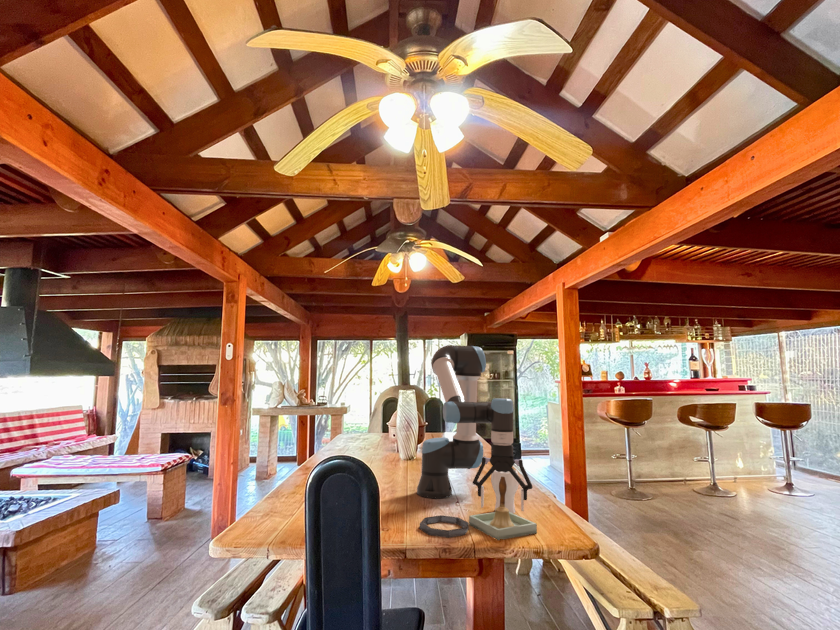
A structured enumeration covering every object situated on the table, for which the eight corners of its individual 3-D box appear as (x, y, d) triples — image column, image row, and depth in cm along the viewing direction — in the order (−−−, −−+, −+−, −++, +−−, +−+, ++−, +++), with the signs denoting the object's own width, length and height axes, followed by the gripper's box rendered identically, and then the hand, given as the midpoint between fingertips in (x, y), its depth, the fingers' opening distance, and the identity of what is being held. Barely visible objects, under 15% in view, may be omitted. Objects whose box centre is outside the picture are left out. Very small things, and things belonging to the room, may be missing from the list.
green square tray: (469, 524, 153) (469, 515, 154) (505, 519, 161) (505, 510, 161) (497, 540, 139) (497, 530, 140) (536, 533, 147) (536, 523, 147)
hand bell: (510, 521, 155) (509, 474, 157) (518, 529, 146) (517, 479, 149) (486, 522, 154) (487, 474, 156) (493, 530, 145) (493, 479, 148)
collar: (413, 524, 152) (413, 519, 152) (451, 519, 159) (451, 513, 159) (435, 539, 138) (435, 533, 139) (476, 532, 145) (476, 527, 146)
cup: (519, 516, 164) (519, 474, 166) (490, 513, 166) (490, 472, 168) (518, 508, 174) (518, 468, 177) (491, 506, 177) (491, 466, 179)
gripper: (465, 443, 153) (464, 508, 150) (539, 447, 148) (540, 514, 145) (467, 440, 160) (466, 502, 157) (538, 444, 155) (539, 508, 152)
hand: (502, 508), depth 151 cm, fingers open, 13 cm apart
